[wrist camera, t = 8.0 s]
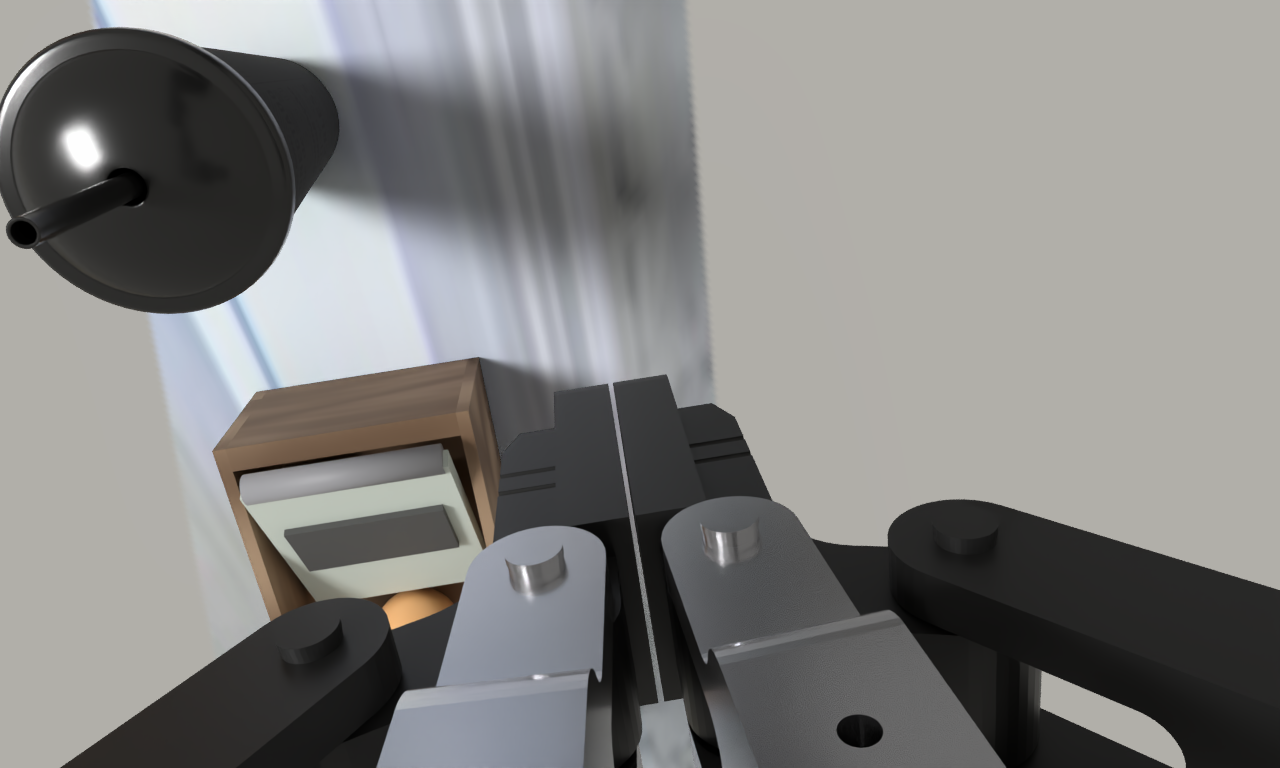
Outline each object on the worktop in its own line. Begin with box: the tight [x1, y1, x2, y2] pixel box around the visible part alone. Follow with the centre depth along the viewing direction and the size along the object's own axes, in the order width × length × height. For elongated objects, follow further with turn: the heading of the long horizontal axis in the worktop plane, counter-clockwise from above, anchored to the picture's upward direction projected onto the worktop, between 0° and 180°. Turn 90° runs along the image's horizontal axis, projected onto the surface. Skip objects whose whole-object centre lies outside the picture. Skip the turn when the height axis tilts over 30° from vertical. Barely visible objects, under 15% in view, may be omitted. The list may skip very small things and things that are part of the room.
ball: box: [382, 588, 453, 630], centre depth 44 cm, size 4×4×4 cm
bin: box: [212, 357, 501, 621], centre depth 43 cm, size 18×10×6 cm, turn 8°
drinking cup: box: [0, 27, 339, 314], centre depth 29 cm, size 8×8×20 cm
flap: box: [240, 443, 487, 602], centre depth 40 cm, size 10×8×1 cm
